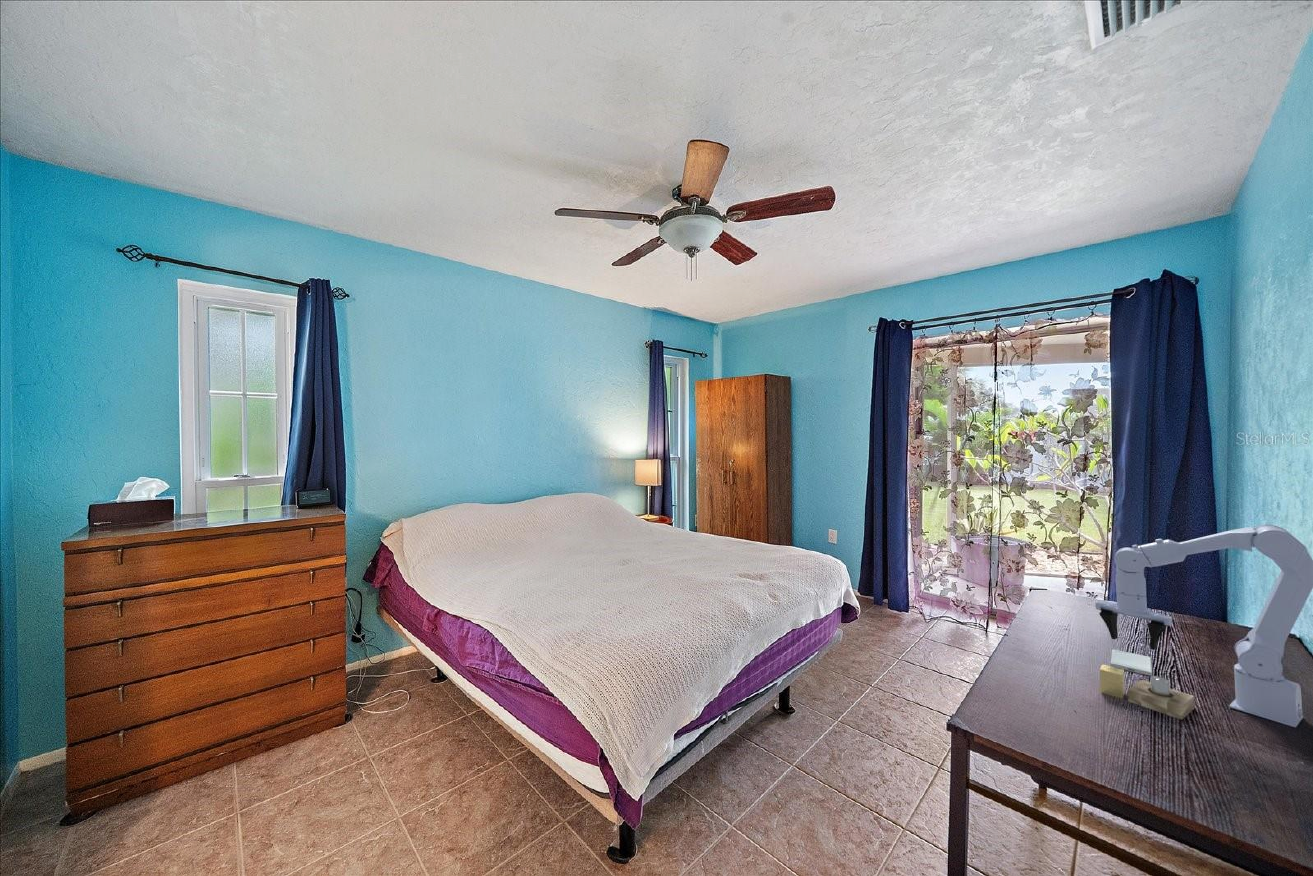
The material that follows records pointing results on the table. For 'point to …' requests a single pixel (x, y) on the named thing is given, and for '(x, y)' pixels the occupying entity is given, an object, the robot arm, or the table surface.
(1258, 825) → the table surface
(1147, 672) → the hard drive
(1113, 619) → the robot arm
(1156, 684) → the round peg
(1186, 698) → the socket block
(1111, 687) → the square bit
